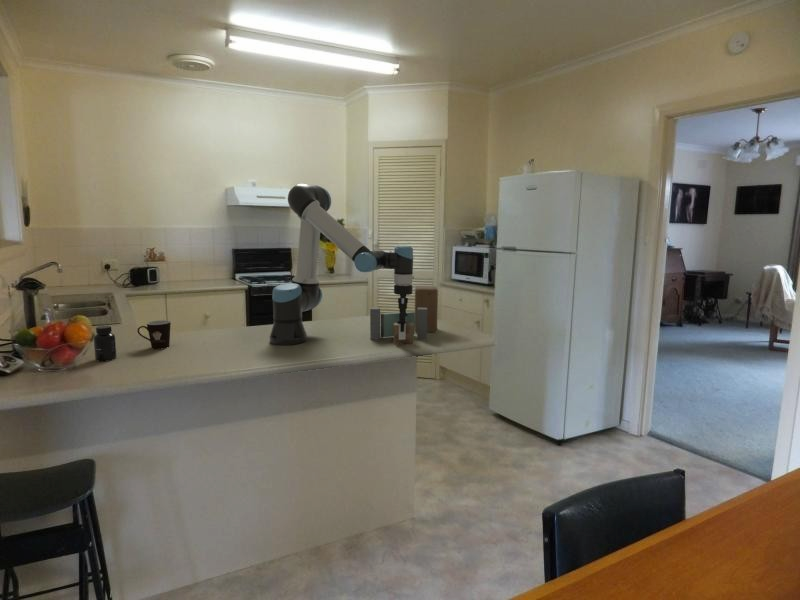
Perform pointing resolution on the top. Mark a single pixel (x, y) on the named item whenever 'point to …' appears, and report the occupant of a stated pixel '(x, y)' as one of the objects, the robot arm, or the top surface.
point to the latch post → (422, 323)
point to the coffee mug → (158, 333)
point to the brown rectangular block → (408, 334)
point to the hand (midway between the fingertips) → (402, 335)
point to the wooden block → (427, 305)
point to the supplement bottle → (104, 344)
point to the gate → (392, 318)
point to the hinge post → (375, 323)
